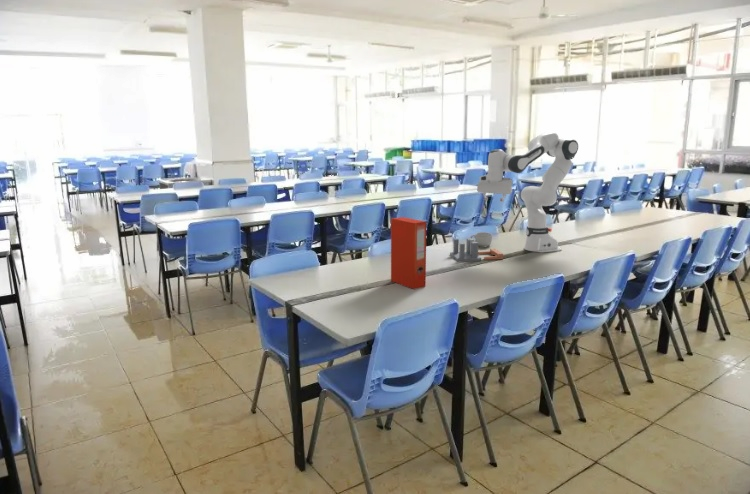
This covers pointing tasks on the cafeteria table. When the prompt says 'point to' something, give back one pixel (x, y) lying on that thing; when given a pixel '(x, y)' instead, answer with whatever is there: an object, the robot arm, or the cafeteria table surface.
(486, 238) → the teacup
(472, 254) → the display stand
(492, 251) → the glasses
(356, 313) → the cafeteria table surface
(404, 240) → the file binder
